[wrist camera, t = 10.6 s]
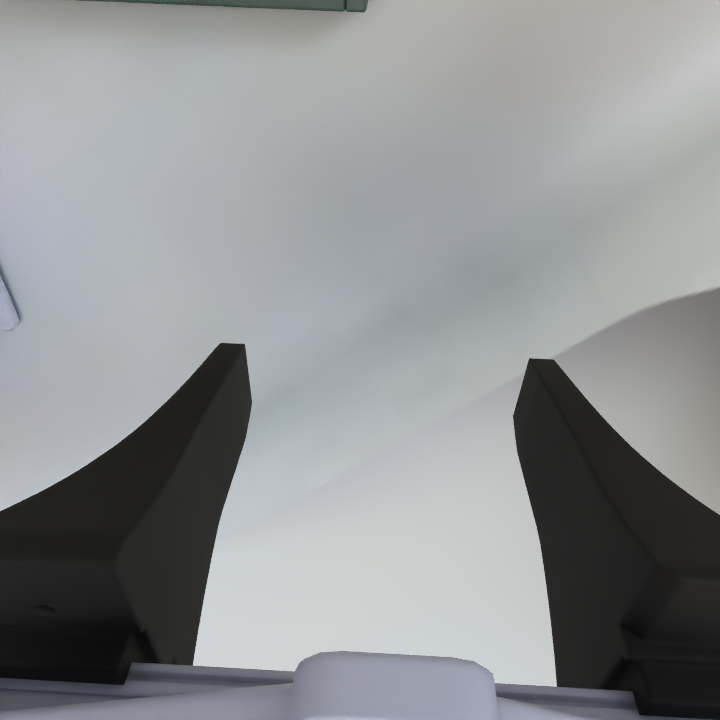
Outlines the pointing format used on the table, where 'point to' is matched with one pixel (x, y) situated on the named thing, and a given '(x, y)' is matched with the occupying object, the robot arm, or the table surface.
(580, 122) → the table surface
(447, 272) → the table surface
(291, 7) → the rack
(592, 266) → the table surface
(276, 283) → the table surface
